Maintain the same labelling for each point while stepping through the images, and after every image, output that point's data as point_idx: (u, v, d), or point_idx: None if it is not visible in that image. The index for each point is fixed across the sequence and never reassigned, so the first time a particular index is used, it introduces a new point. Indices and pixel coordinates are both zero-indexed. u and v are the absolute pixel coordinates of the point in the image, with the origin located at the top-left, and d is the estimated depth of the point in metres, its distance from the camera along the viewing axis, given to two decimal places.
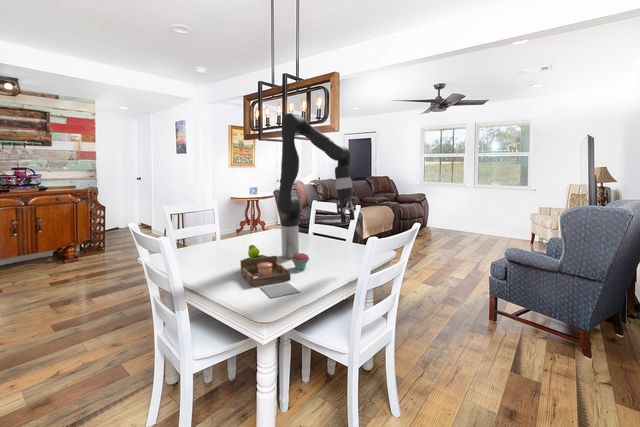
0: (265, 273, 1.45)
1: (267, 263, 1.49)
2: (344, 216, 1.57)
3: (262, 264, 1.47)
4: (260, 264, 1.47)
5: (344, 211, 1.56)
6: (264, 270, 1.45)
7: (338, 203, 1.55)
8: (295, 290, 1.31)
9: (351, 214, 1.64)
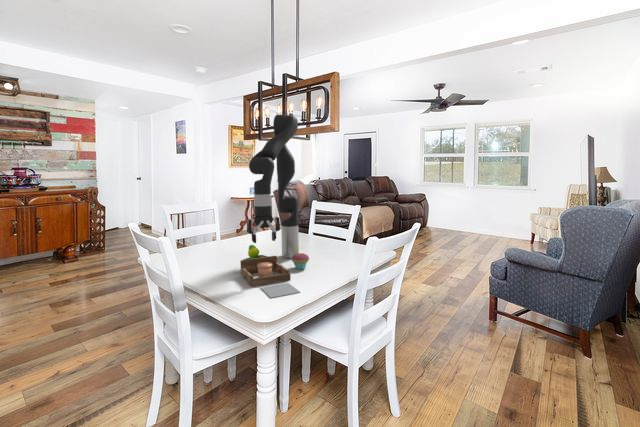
0: (265, 273, 1.45)
1: (267, 263, 1.49)
2: (254, 236, 1.43)
3: (262, 264, 1.47)
4: (260, 264, 1.47)
5: (254, 231, 1.42)
6: (264, 270, 1.45)
7: (247, 221, 1.42)
8: (295, 290, 1.31)
9: (272, 234, 1.47)
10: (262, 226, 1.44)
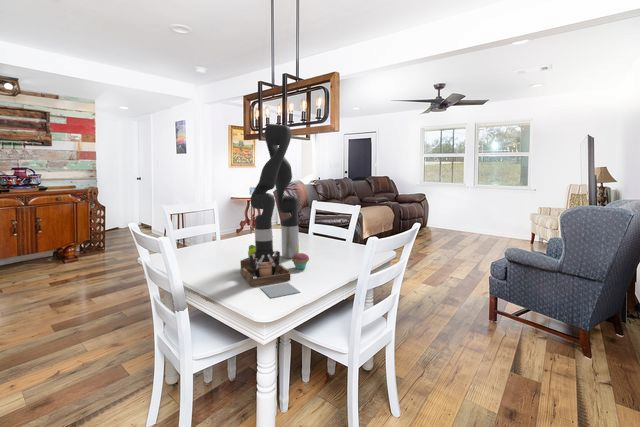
0: (265, 273, 1.45)
1: (267, 263, 1.49)
2: (257, 271, 1.45)
3: (262, 264, 1.47)
4: (260, 264, 1.47)
5: (257, 266, 1.44)
6: (264, 270, 1.45)
7: (249, 257, 1.44)
8: (295, 290, 1.31)
9: None
10: (264, 259, 1.46)
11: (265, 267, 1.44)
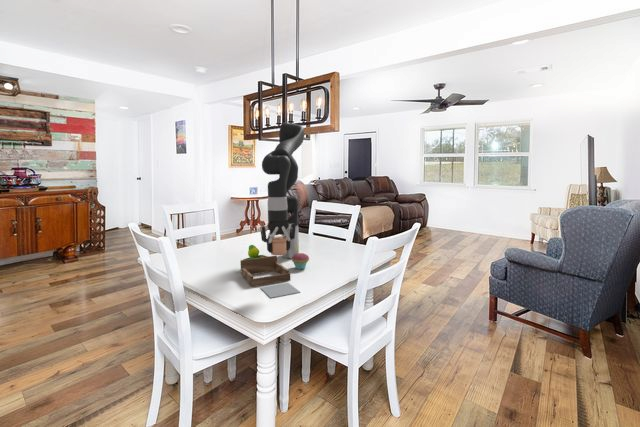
0: (279, 247, 1.27)
1: (281, 237, 1.31)
2: (270, 245, 1.27)
3: (275, 238, 1.29)
4: (273, 238, 1.29)
5: (269, 239, 1.27)
6: (278, 244, 1.27)
7: (261, 229, 1.26)
8: (295, 290, 1.31)
9: (286, 243, 1.31)
10: (277, 232, 1.28)
11: (279, 240, 1.26)
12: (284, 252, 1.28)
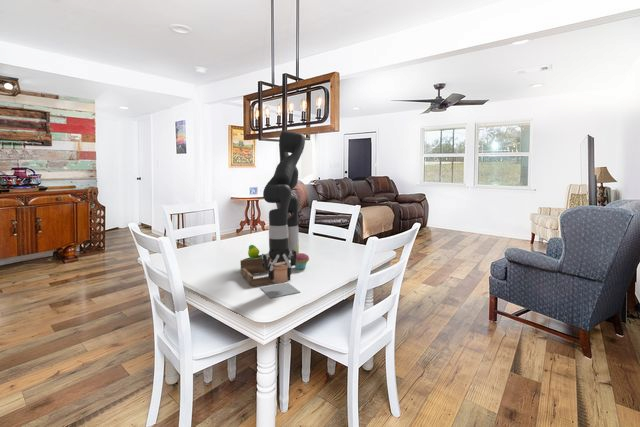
0: (280, 275, 1.28)
1: (282, 264, 1.32)
2: (271, 273, 1.29)
3: (277, 265, 1.30)
4: None
5: (271, 267, 1.28)
6: (279, 272, 1.28)
7: (262, 257, 1.27)
8: (295, 290, 1.31)
9: (287, 270, 1.33)
10: (278, 260, 1.29)
11: (280, 268, 1.28)
12: (285, 279, 1.30)
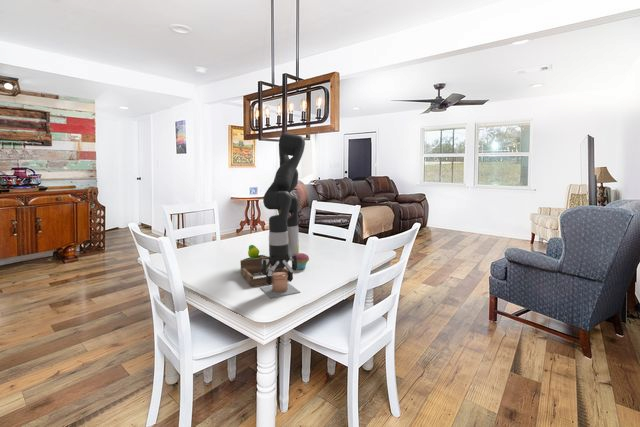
0: (280, 285, 1.29)
1: (282, 273, 1.33)
2: (269, 278, 1.29)
3: (277, 275, 1.31)
4: (274, 274, 1.31)
5: (269, 272, 1.28)
6: (279, 281, 1.29)
7: (262, 262, 1.28)
8: (295, 290, 1.31)
9: (288, 274, 1.33)
10: (278, 266, 1.30)
11: (280, 278, 1.28)
12: (285, 289, 1.30)
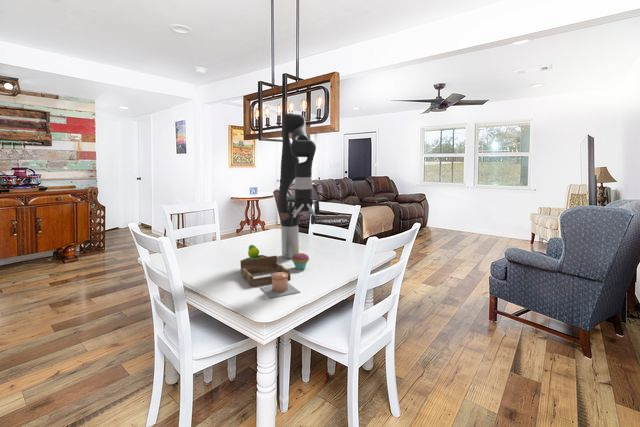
0: (280, 285, 1.29)
1: (282, 273, 1.33)
2: (294, 219, 1.42)
3: (277, 275, 1.31)
4: (274, 274, 1.31)
5: (294, 214, 1.42)
6: (279, 282, 1.29)
7: (288, 204, 1.41)
8: (295, 290, 1.31)
9: (311, 218, 1.47)
10: (302, 209, 1.43)
11: (280, 278, 1.28)
12: (285, 289, 1.30)
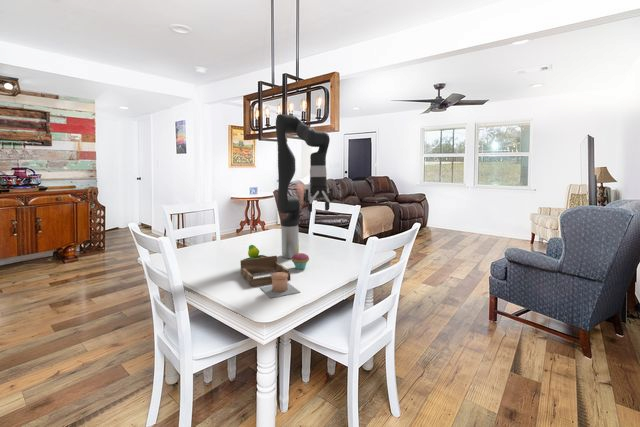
0: (280, 285, 1.29)
1: (282, 273, 1.33)
2: (310, 205, 1.51)
3: (277, 275, 1.31)
4: (274, 274, 1.31)
5: (310, 200, 1.51)
6: (279, 282, 1.29)
7: (304, 191, 1.50)
8: (295, 290, 1.31)
9: (326, 204, 1.56)
10: (317, 196, 1.52)
11: (280, 278, 1.28)
12: (285, 289, 1.30)
